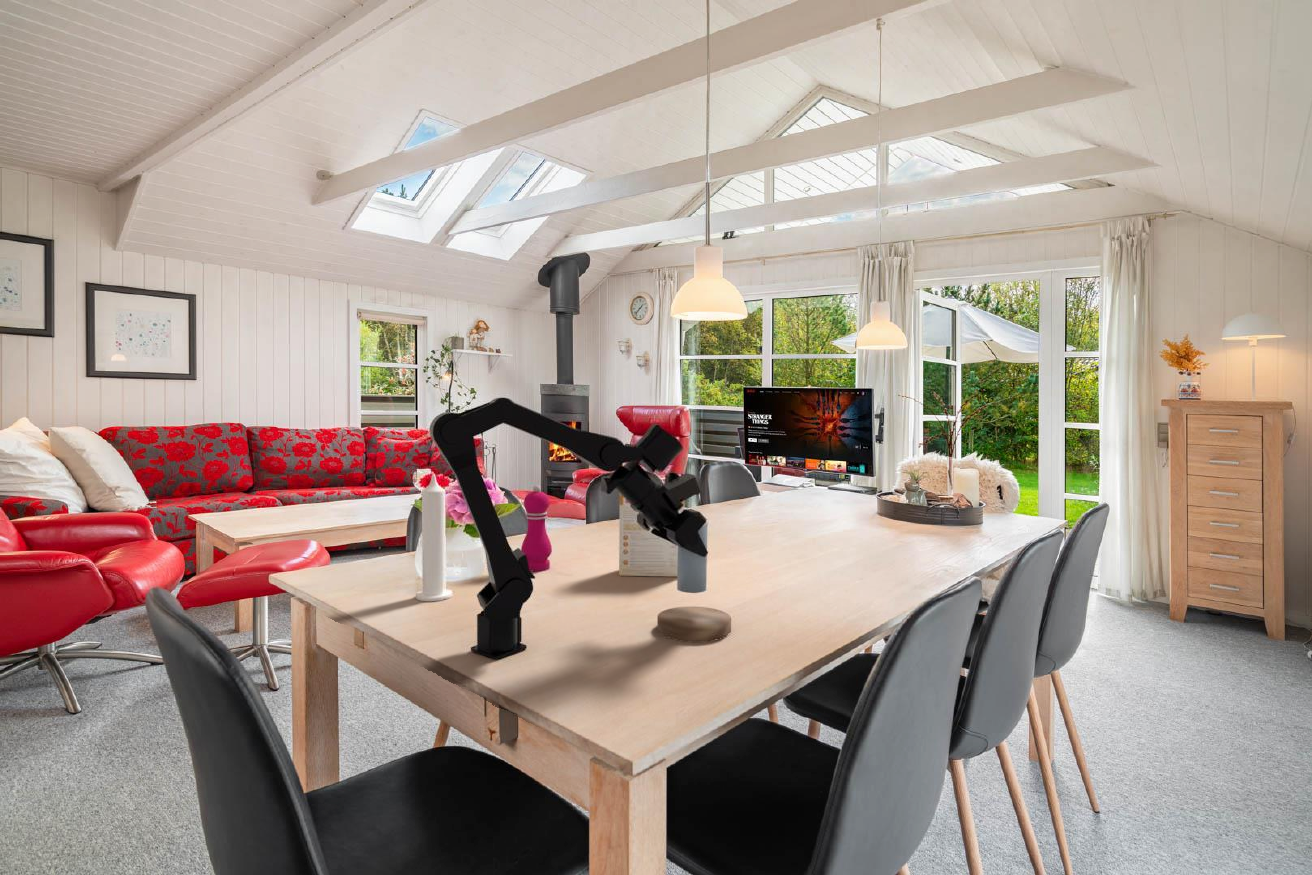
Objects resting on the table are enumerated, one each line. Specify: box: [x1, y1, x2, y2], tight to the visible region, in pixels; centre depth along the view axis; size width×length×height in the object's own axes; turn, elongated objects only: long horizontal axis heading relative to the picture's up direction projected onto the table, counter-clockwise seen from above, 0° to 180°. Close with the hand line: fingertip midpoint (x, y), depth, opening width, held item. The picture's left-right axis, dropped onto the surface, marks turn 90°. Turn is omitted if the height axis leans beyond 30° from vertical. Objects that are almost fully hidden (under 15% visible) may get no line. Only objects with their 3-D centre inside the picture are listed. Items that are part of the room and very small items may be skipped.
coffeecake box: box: [618, 493, 685, 578], centre depth 164 cm, size 15×7×20 cm, turn 88°
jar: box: [676, 518, 709, 594], centre depth 125 cm, size 5×5×12 cm
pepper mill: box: [520, 484, 553, 572], centre depth 167 cm, size 7×7×20 cm
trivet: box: [656, 606, 732, 643], centre depth 124 cm, size 13×13×2 cm
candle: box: [415, 473, 453, 602], centre depth 142 cm, size 7×7×25 cm
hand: (699, 551), depth 125 cm, fingers closed on jar, 5 cm apart
